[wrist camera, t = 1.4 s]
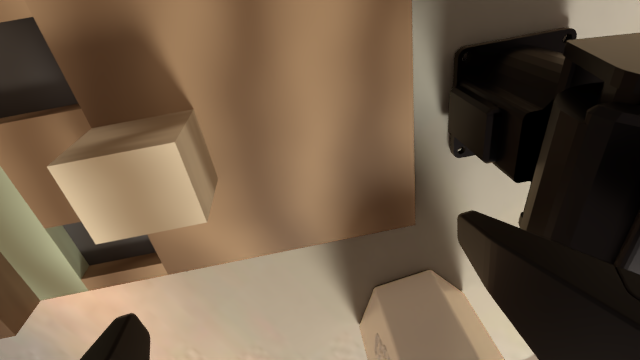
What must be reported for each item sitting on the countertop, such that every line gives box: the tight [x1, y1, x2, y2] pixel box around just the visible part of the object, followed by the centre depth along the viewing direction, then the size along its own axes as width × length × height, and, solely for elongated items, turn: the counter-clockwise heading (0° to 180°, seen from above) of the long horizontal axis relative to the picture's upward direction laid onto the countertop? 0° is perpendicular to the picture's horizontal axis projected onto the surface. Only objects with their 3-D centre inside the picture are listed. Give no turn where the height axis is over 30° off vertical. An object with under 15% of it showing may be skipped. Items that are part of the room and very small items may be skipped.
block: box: [47, 109, 218, 244], centre depth 16 cm, size 5×4×4 cm
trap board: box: [0, 0, 415, 339], centre depth 18 cm, size 25×16×4 cm, turn 99°
